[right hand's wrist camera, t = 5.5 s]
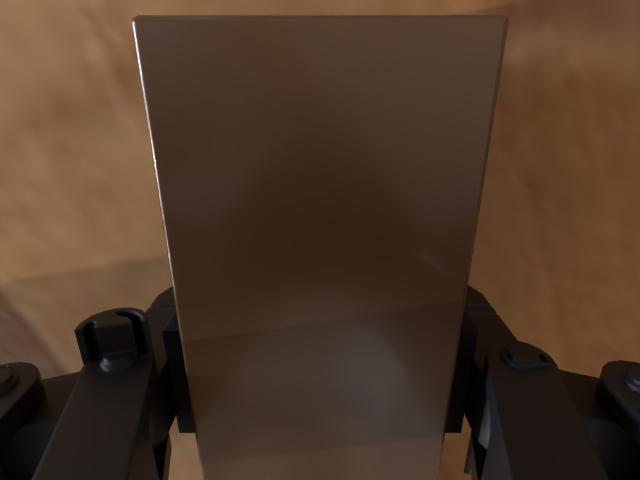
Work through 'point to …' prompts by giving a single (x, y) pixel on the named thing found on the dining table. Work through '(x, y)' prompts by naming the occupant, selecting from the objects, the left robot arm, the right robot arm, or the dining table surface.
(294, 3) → the dining table surface
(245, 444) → the bar
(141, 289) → the dining table surface
